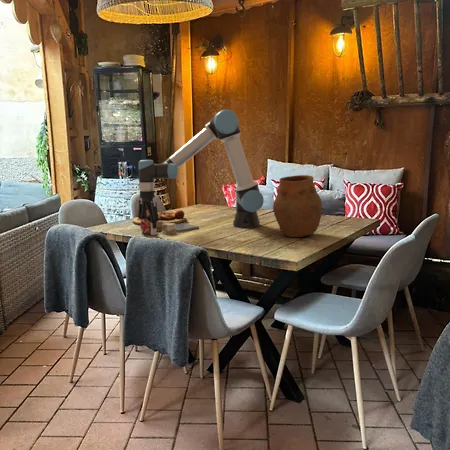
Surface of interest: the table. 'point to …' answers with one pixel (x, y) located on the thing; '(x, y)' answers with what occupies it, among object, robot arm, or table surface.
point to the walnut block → (159, 225)
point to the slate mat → (185, 227)
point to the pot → (297, 206)
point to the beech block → (168, 228)
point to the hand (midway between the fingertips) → (148, 233)
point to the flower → (145, 226)
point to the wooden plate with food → (165, 217)
